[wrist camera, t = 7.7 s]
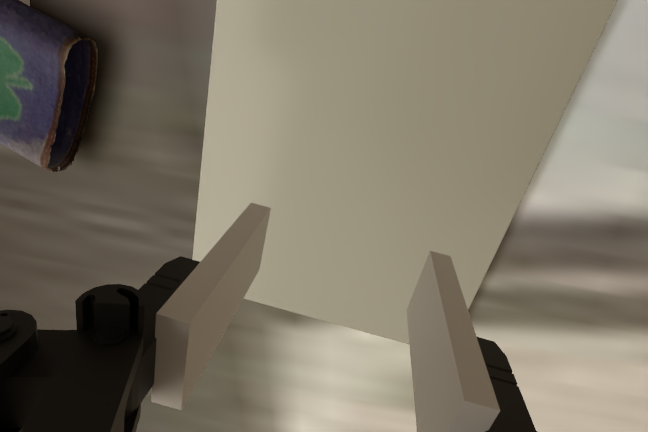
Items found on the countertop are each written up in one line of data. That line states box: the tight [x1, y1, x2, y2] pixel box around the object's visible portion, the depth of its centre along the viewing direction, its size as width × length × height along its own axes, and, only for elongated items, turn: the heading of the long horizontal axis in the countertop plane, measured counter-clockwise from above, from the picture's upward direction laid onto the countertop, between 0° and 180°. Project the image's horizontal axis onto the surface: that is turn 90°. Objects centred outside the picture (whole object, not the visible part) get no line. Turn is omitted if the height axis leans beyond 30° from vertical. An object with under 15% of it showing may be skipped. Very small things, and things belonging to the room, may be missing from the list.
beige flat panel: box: [192, 0, 618, 344], centre depth 25 cm, size 24×20×1 cm
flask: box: [0, 0, 98, 172], centre depth 24 cm, size 9×3×11 cm
